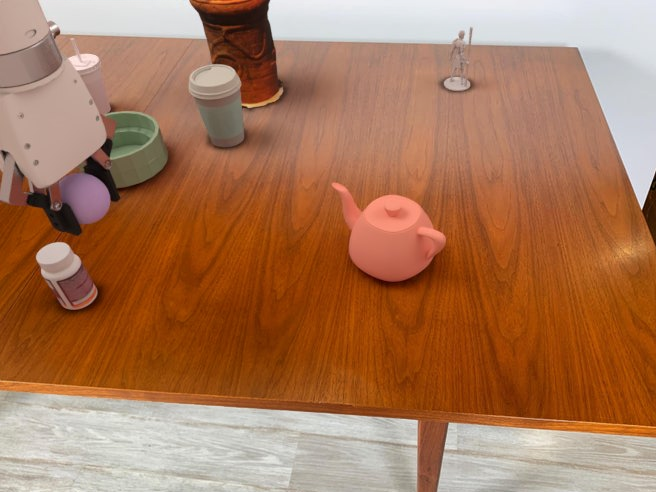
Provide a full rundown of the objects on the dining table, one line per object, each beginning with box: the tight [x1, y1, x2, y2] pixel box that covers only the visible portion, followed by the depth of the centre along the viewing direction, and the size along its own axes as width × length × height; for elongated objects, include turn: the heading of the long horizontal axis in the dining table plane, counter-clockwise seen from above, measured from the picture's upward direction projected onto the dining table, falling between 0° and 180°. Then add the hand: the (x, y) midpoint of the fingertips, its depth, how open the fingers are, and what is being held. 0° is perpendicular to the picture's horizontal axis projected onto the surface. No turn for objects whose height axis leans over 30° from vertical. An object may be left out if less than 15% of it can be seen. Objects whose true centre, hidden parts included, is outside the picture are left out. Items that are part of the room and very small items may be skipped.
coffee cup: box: [188, 64, 245, 148], centre depth 99 cm, size 9×8×12 cm
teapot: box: [331, 182, 447, 283], centre depth 80 cm, size 12×18×10 cm
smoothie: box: [67, 37, 112, 115], centre depth 105 cm, size 6×6×14 cm
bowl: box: [75, 110, 169, 189], centre depth 96 cm, size 14×14×6 cm
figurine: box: [443, 26, 474, 92], centre depth 111 cm, size 5×5×12 cm
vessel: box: [188, 0, 284, 109], centre depth 107 cm, size 14×14×20 cm
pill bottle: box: [35, 241, 98, 311], centre depth 75 cm, size 5×5×8 cm
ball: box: [59, 172, 111, 225], centre depth 63 cm, size 6×6×6 cm
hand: (89, 212), depth 65 cm, fingers closed on ball, 5 cm apart
